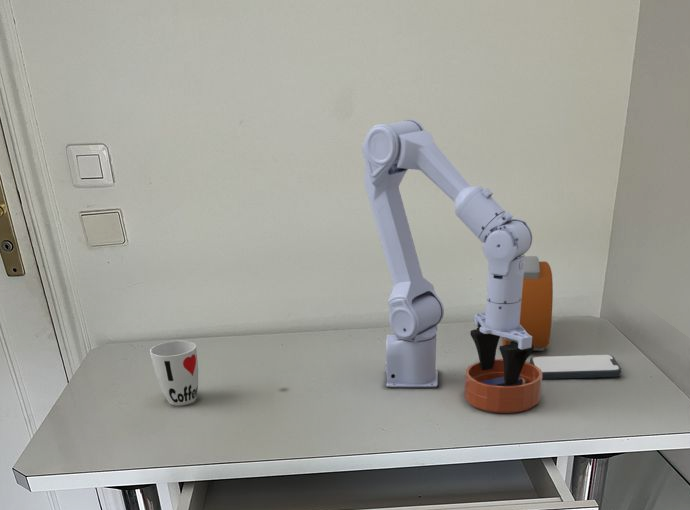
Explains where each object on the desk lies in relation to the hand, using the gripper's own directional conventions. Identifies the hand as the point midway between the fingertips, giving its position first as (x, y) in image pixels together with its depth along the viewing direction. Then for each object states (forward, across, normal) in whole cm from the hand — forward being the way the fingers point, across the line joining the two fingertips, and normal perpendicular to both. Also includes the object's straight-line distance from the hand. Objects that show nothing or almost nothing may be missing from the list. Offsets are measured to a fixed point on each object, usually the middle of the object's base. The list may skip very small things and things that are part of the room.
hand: (498, 376), depth 128 cm
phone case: (+4, -4, +20) cm, 21 cm away
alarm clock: (+4, -25, +22) cm, 34 cm away
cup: (+5, -27, -51) cm, 58 cm away
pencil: (+4, 0, 0) cm, 4 cm away
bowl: (+4, 0, +1) cm, 4 cm away
